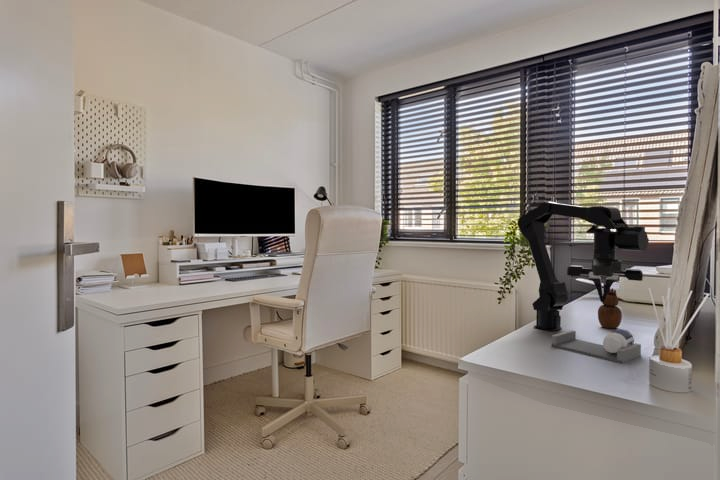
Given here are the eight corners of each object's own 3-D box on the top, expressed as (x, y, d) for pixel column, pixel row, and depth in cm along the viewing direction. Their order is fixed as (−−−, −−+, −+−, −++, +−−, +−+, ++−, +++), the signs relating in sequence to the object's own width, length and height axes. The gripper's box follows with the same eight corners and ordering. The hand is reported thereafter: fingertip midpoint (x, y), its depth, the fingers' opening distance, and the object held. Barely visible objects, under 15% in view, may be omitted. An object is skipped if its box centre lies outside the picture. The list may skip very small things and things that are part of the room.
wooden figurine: (594, 326, 139) (595, 282, 138) (605, 324, 141) (606, 281, 141) (613, 330, 133) (614, 285, 132) (624, 329, 135) (625, 284, 135)
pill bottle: (609, 330, 113) (596, 335, 106) (630, 327, 109) (619, 332, 102) (615, 349, 111) (603, 356, 105) (637, 347, 108) (626, 354, 101)
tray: (551, 346, 114) (551, 335, 114) (571, 340, 120) (571, 330, 120) (622, 363, 99) (622, 351, 99) (640, 355, 106) (640, 344, 106)
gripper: (566, 248, 117) (563, 302, 118) (644, 251, 107) (642, 310, 108) (570, 247, 127) (568, 296, 127) (642, 250, 116) (640, 303, 117)
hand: (602, 301), depth 119 cm, fingers closed
